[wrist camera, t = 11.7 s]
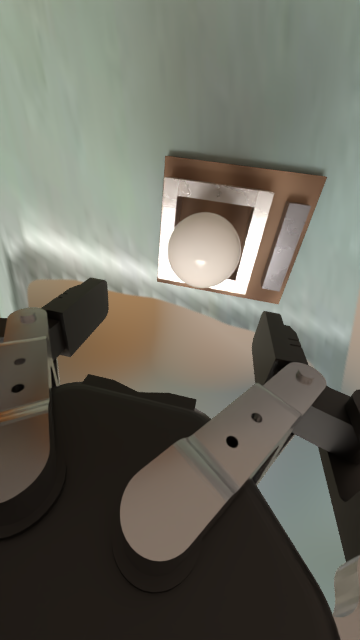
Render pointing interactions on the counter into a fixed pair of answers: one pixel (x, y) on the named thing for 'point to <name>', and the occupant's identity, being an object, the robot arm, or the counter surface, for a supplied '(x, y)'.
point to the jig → (242, 219)
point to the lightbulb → (204, 250)
